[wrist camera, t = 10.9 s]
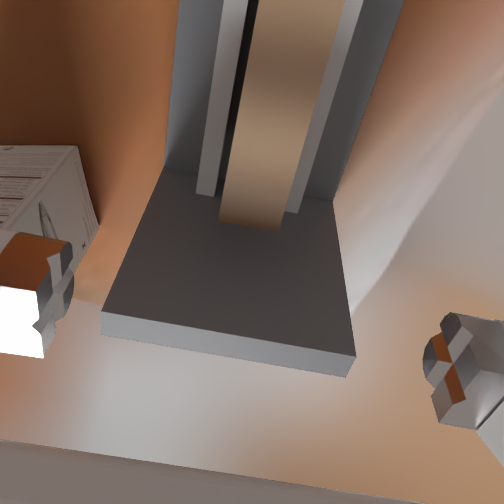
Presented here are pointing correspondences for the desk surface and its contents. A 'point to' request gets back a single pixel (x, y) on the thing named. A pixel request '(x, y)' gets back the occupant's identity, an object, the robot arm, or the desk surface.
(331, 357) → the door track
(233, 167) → the door panel
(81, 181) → the supplement box
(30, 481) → the robot arm
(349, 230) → the desk surface
